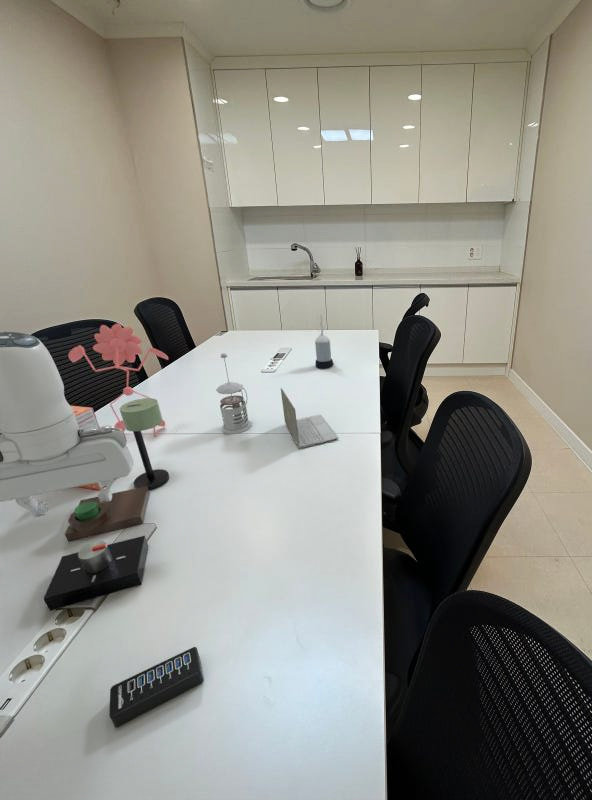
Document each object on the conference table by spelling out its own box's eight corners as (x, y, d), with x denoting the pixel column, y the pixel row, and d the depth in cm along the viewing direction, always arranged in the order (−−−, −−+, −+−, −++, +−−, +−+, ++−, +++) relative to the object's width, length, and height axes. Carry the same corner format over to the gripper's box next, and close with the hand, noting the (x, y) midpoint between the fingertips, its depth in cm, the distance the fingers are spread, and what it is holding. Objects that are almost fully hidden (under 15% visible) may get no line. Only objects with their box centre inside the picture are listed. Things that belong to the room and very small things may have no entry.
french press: (214, 431, 124) (198, 357, 114) (236, 416, 134) (223, 346, 124) (241, 435, 121) (227, 359, 111) (261, 419, 131) (250, 348, 121)
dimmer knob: (81, 576, 69) (74, 560, 67) (87, 558, 72) (81, 543, 71) (109, 569, 70) (103, 553, 69) (114, 552, 74) (108, 536, 72)
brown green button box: (67, 544, 80) (60, 529, 79) (83, 507, 91) (78, 493, 89) (142, 525, 85) (138, 510, 83) (150, 492, 95) (145, 479, 94)
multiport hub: (204, 682, 55) (200, 671, 54) (114, 729, 50) (108, 718, 49) (199, 655, 58) (196, 645, 57) (115, 696, 53) (110, 686, 52)
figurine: (184, 433, 124) (156, 324, 109) (91, 447, 117) (49, 333, 103) (189, 413, 137) (165, 314, 123) (106, 425, 130) (71, 322, 116)
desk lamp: (132, 494, 95) (106, 416, 86) (137, 477, 102) (113, 402, 93) (176, 484, 98) (155, 408, 90) (178, 468, 105) (159, 396, 96)
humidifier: (336, 366, 180) (332, 312, 170) (319, 370, 177) (315, 315, 166) (329, 362, 187) (325, 310, 177) (313, 365, 183) (308, 312, 173)
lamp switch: (74, 523, 81) (71, 515, 80) (80, 511, 84) (77, 503, 83) (97, 517, 82) (94, 510, 81) (101, 506, 85) (98, 499, 85)
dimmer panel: (49, 611, 66) (42, 598, 65) (67, 567, 74) (61, 555, 73) (141, 584, 70) (137, 571, 69) (148, 546, 79) (144, 534, 78)
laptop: (338, 439, 117) (336, 400, 112) (298, 449, 113) (293, 409, 108) (321, 416, 132) (317, 380, 127) (284, 424, 128) (280, 387, 123)
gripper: (124, 415, 66) (145, 482, 72) (-26, 440, 60) (10, 511, 65) (117, 431, 61) (140, 502, 67) (-49, 460, 54) (-8, 536, 60)
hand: (75, 507), depth 66 cm, fingers open, 8 cm apart
